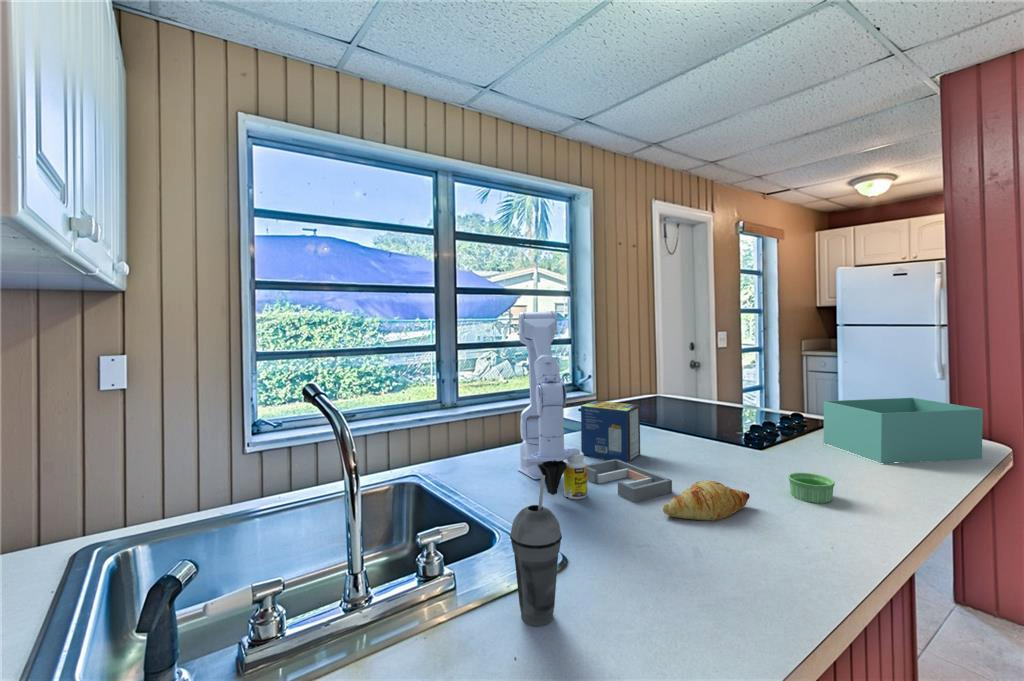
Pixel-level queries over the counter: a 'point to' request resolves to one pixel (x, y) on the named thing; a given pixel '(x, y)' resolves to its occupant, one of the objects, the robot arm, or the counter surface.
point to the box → (904, 429)
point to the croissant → (706, 502)
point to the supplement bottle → (575, 477)
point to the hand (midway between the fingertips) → (552, 492)
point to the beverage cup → (536, 561)
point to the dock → (635, 490)
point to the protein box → (610, 430)
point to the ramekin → (811, 487)
